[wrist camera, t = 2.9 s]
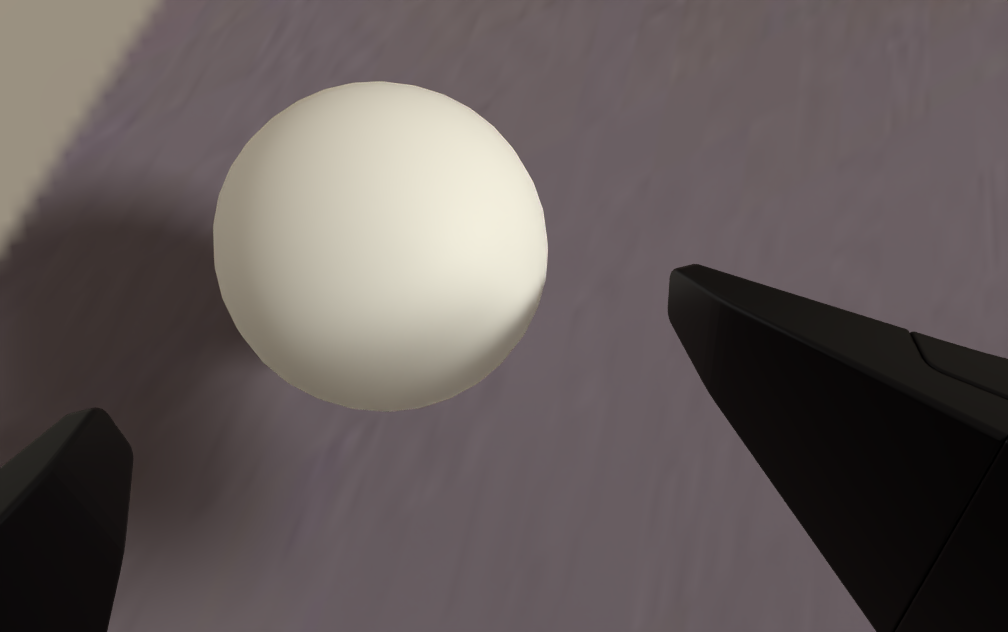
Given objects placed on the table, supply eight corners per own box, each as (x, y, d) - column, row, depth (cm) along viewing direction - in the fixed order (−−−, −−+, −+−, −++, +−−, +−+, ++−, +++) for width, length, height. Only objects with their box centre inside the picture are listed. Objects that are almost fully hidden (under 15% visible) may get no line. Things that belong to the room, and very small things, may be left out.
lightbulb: (542, 348, 19) (661, 246, 8) (385, 457, 18) (291, 500, 7) (440, 202, 20) (429, -66, 9) (282, 299, 19) (55, 122, 8)
